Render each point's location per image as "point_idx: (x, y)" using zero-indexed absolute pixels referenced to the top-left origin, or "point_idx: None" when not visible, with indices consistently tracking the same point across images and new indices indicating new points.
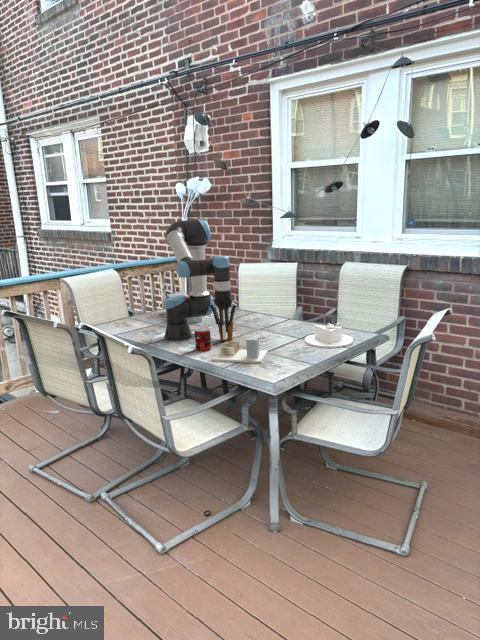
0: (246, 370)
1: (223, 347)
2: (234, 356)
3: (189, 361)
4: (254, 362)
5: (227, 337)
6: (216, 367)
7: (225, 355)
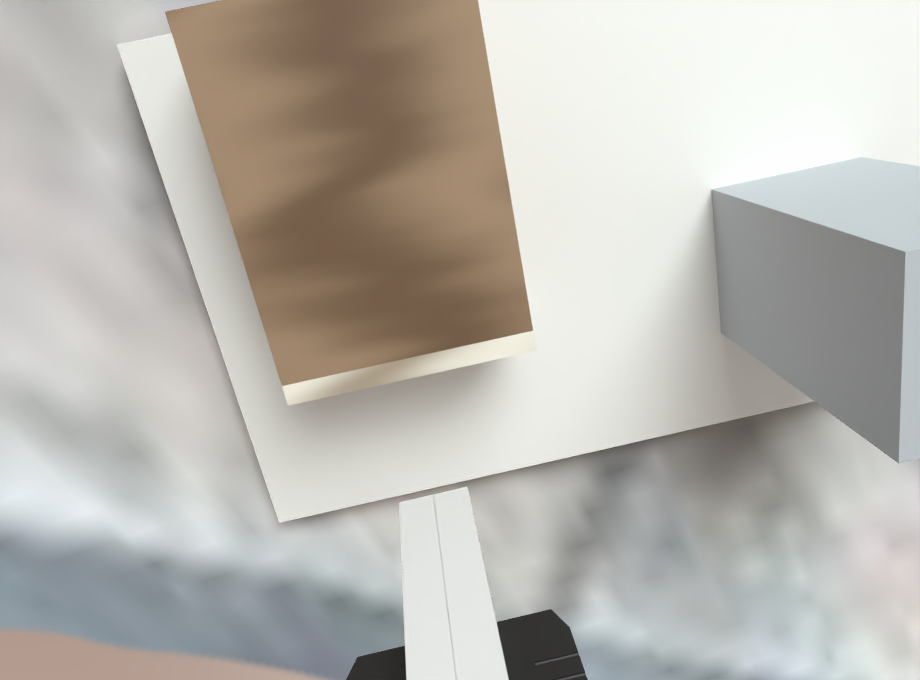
0: (799, 603)
1: (352, 390)
2: None
3: (21, 613)
4: None
5: (469, 497)
6: None
7: None
